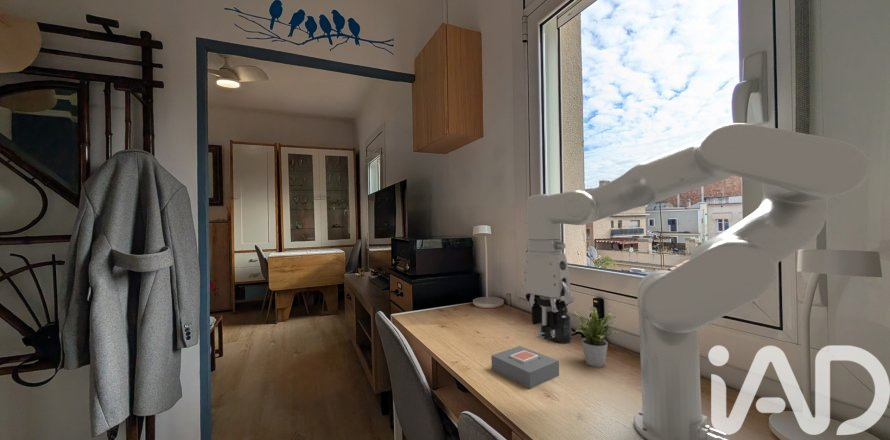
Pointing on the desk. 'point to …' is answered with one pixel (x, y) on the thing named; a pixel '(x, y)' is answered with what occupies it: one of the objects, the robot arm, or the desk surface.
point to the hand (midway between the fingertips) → (546, 325)
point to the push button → (546, 318)
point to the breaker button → (524, 357)
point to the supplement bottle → (564, 329)
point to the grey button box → (525, 367)
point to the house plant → (594, 338)
